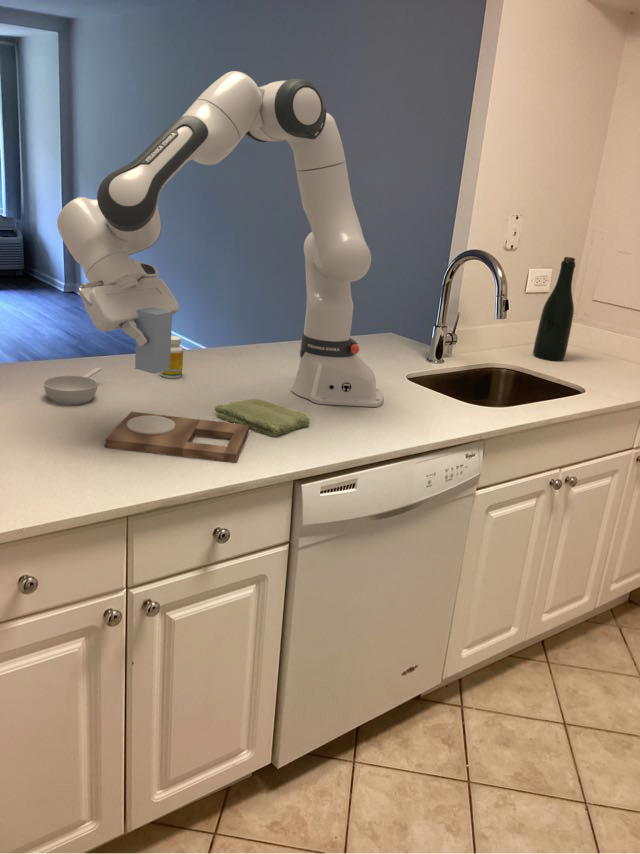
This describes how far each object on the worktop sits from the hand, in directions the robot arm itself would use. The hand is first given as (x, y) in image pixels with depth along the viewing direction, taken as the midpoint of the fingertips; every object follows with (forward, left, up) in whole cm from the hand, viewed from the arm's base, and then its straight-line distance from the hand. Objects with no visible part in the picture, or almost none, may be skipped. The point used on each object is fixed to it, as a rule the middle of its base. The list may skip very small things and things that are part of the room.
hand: (156, 341), depth 134 cm
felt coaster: (+1, 0, -17) cm, 17 cm away
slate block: (+1, 0, -5) cm, 5 cm away
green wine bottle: (-103, -110, -19) cm, 152 cm away
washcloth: (-19, -15, -19) cm, 31 cm away
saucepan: (+22, -19, -19) cm, 35 cm away
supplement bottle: (+7, -40, -19) cm, 45 cm away
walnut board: (-5, +1, -19) cm, 19 cm away
